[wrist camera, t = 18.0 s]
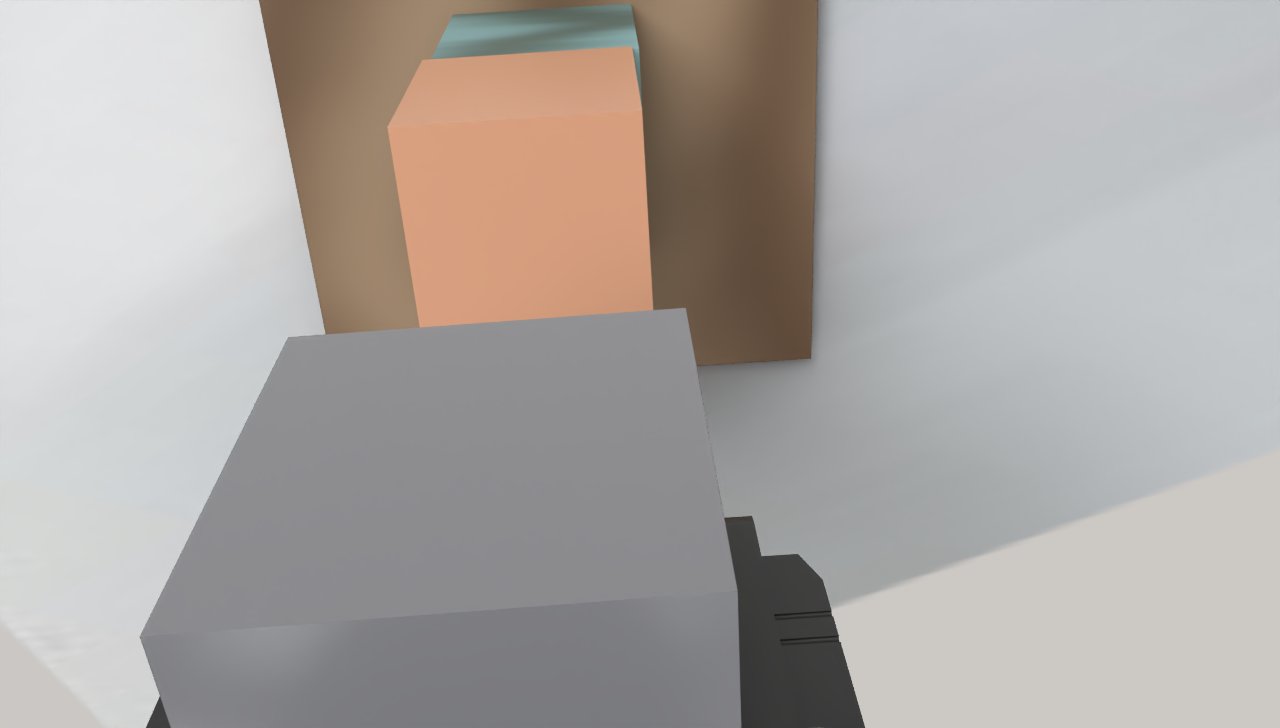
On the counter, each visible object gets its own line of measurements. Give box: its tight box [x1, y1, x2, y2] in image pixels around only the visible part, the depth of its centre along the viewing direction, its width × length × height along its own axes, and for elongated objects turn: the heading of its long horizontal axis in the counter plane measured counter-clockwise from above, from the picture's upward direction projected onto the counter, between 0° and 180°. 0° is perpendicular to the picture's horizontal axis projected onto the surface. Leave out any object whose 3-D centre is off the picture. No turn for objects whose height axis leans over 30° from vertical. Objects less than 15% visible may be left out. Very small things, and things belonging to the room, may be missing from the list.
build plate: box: [259, 0, 818, 366], centre depth 29 cm, size 14×14×6 cm
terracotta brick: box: [387, 46, 653, 327], centre depth 24 cm, size 4×7×5 cm, turn 3°
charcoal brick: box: [140, 308, 741, 728], centre depth 13 cm, size 4×7×5 cm, turn 4°
